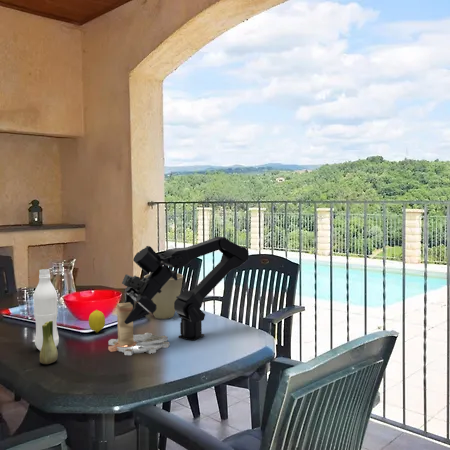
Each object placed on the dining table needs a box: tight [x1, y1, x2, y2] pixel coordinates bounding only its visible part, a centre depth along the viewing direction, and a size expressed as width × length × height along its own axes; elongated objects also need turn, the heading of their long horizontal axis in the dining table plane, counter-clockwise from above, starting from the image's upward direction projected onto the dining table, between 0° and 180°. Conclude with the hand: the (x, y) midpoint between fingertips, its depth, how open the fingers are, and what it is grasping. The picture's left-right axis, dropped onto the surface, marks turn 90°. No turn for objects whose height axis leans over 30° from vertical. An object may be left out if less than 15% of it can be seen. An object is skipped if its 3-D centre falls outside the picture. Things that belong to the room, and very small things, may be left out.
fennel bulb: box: [39, 321, 59, 365], centre depth 151 cm, size 6×5×12 cm
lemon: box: [88, 309, 106, 333], centre depth 182 cm, size 6×6×8 cm
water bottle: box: [32, 268, 60, 352], centre depth 163 cm, size 7×7×25 cm
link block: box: [116, 302, 134, 346], centre depth 164 cm, size 4×4×12 cm
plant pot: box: [143, 272, 184, 320], centre depth 202 cm, size 15×15×16 cm
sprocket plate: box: [107, 332, 170, 356], centre depth 167 cm, size 19×19×1 cm
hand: (121, 319), depth 164 cm, fingers open, 9 cm apart
